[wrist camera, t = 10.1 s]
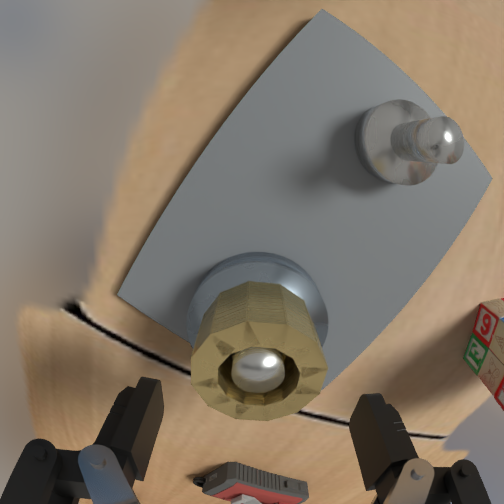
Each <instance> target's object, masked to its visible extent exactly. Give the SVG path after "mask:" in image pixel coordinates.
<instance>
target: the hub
mask: <svg viewBox="0 0 504 504" xmlns="http://www.w3.org/2000/svg"><path fill="white" fill-rule="evenodd" d="M247 281H254V282H264V283H275V284H281V285H282V286H284V287H285V288H287V289H288V290H290V291H291V292H293V293H294V294H295V295H297V296H298V297H300V298H301V299H303V300H304V301H305V304H306V307H307V309H308V312H309V314H310V317H311V319H312V321H313V323H314V326H315V329H316V332H317V335H318V338H319V341H320V344H321V347H323V345H324V343H325V340H326V337H327V332H328V321H329V320H328V312H327V309H326V305H325V303H324V301H323V299H322V297H321V294H320V292H319V290H318V288H317V286H316V284H315V282H314V280H313V279H312V277H311V276H310V275H309V274H308V273H307V272H306V270H305V269H303V268H302V267H301V266H300V265H298V264H297V263H295V262H294V261H292V260H290V259H288V258H286V257H283V256H280V255H277V254H273V253H267V252H247V253H242V254H238V255H235V256H232V257H229V258H227V259H225V260H223V261H221V262H220V263H218V264H217V265H215V266H214V267H213V268H212V269H210V270H209V271H208V272H207V273H206V275H205V276H204V277H203V278H202V280H201V282H200V283H199V285H198V287H197V289H196V292H195V294H194V296H193V299H192V301H191V303H190V306H189V309H188V313H187V320H186V328H187V334H188V338H189V341H190V344H191V346H192V348H194V345H195V342H196V338H197V335H198V332H199V329H200V325H201V322H202V319H203V316H204V313H205V312H206V311H207V309H208V308H209V307H210V306H211V304H212V303H213V302H214V300H215V299H216V298H217V296H218V295H219V293H220V292H223V291H225V290H228V289H230V288H233V287H235V286H238V285H240V284H242V283H245V282H247ZM231 375H232V379H233V381H234V383H235V384H236V385H237V386H238V387H239V388H241V389H243V390H245V391H248V392H252V393H263V392H268V391H271V390H273V389H275V388H276V387H278V386H279V385H280V384H281V383H282V381H283V379H284V376H285V370H284V362H283V355H282V352H281V351H279V350H277V349H275V348H262V347H249V348H247V349H244V350H241V351H238V352H235V353H233V363H232V372H231Z"/></svg>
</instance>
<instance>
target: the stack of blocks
mask: <svg viewBox="0 0 504 504" xmlns="http://www.w3.org/2000/svg"><path fill="white" fill-rule="evenodd" d="M463 359H464V360H465V361H466V363H467V364H468V365H469V366H470V368H471V369H472V370H473V371H474V373H475V374H476V375H477V376H479V378H480V379H481V380H482V382H483V383H484V384H485V386H486V387H487V388H488V390H489V391H490V392H491V393H492V395H494V398H495V400H496V401H497V403H498V404H499V405H500V406H501V408H502V409H503V411H504V298H502V299H496V300H491V301H486V302H482V303H481V304H480V308H479V311H478V315H477V318H476V321H475V325H474V328H473V331H472V335H471V338H470V341H469V344H468V347H467V349H466V352H465V355H464V357H463Z"/></svg>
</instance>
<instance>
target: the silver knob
mask: <svg viewBox="0 0 504 504" xmlns="http://www.w3.org/2000/svg"><path fill="white" fill-rule="evenodd" d="M354 141H355V148H356V152H357V155H358V158H359V160H360V162H361V163H362V165H363V166H364V168H365V169H366V170H367V171H368V172H369V173H370V174H371V175H373V176H374V177H376V178H378V179H380V180H382V181H386V182H391V183H395V184H400V185H406V186H411V185H416V184H419V183H422V182H423V181H425V180H426V179H428V178H429V177H430V176H431V175H432V173H433V172H434V170H435V169H436V167H437V164H438V163H442V164H453V163H456V162H457V161H458V160H459V159H460V158H461V156H462V154H463V151H464V137H463V134H462V131H461V129H460V127H459V126H458V124H457V123H456V122H455V121H454V120H452V119H451V118H449V117H445V116H441V117H435V118H431V117H430V116H429V115H428V113H427V112H426V111H425V110H424V109H423V108H421V107H420V106H419V105H417V104H415V103H413V102H411V101H407V100H402V99H396V100H390V101H388V102H385V103H383V104H380V105H378V106H375V107H373V108H371V109H369V110H367V111H366V112H365V113H364V114H363V115H362V116H361V118H360V120H359V121H358V123H357V126H356V129H355V138H354Z"/></svg>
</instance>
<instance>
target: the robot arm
mask: <svg viewBox="0 0 504 504" xmlns="http://www.w3.org/2000/svg"><path fill="white" fill-rule="evenodd" d="M163 413H164V402H163V394H162V386H161V381H160V380H156V379H151V378H146V377H141V378H140V380H139V382H138V384H137V386H136V388H133V387H129V386H127V387H126V388H125V389H124V390H123V391H121V392H120V393H119V394H118V396H117V398H116V400H115V402H114V405H113V406H112V408H111V410H110V413H109V414H108V416H107V418H106V420H105V422H104V424H103V426H102V428H101V430H100V433H99V435H98V437H97V439H96V441H95V442H94V443H93V445H90V446H87V447H85V448H84V449H82V450H80V451H71V450H61V449H56V448H55V447H54V445H53V444H52V443H51V442H49V441H47V440H45V439H34V440H32V441H30V442H29V443H28V444H27V445H26V446H25V448H24V450H23V452H22V454H21V456H20V458H19V460H18V462H17V464H16V466H15V468H14V470H13V472H12V474H11V476H10V478H9V480H8V483H7V485H6V487H5V489H4V492H3V494H2V496H1V499H0V504H78V502H79V499H80V498H85V499H92V502H93V504H140V502H139V500H138V499H137V497H136V495H135V493H134V491H133V489H132V488H133V484H134V481H135V479H136V480H140V481H144V477H145V474H146V470H147V467H148V464H149V460H150V457H151V454H152V451H153V447H154V444H155V441H156V438H157V434H158V431H159V428H160V425H161V422H162V418H163ZM349 429H350V433H351V437H352V440H353V444H354V447H355V451H356V455H357V458H358V462H359V466H360V469H361V473H362V477H363V481H364V485H365V489H366V491H369V490H374V489H376V492H377V494H376V495H375V497H374V499H373V500H372V502H371V504H450V502H452V504H491V502H490V499H489V497H488V494H487V491H486V489H485V487H484V484H483V482H482V479H481V477H480V475H479V472H478V470H477V468H476V466H475V465H474V464H473V463H472V462H471V461H469V460H464V459H463V460H458V461H457V462H455V463H454V464H453V465H452V466H451V467H433V466H432V465H431V464H430V463H429V462H428V461H426V460H424V459H421V458H419V457H418V455H417V453H416V451H415V448H414V446H413V444H412V441H411V439H410V437H409V435H408V432H407V430H406V428H405V426H404V423H402V419H401V417H400V415H399V413H398V411H397V410H396V409H395V408H394V407H393V406H392V405H391V404H386V403H385V401H384V399H383V397H382V395H381V394H380V393H375V394H363V395H361V397H360V399H359V401H358V403H357V405H356V407H355V409H354V411H353V414H352V416H351V418H350V422H349Z"/></svg>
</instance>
